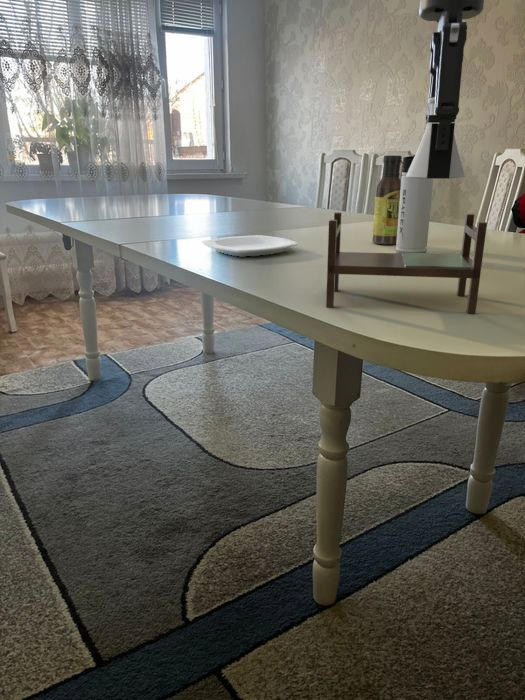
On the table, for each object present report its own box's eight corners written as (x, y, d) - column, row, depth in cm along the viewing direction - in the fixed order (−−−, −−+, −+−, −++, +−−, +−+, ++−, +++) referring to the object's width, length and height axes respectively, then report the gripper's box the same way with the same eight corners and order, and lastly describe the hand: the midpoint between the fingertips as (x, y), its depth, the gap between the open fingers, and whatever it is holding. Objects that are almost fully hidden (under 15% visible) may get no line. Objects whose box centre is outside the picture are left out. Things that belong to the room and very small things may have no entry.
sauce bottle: (387, 246, 125) (393, 155, 119) (366, 243, 130) (371, 155, 123) (404, 243, 129) (411, 154, 122) (384, 240, 134) (389, 155, 127)
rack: (463, 294, 83) (473, 213, 79) (475, 314, 73) (487, 222, 69) (332, 289, 87) (334, 212, 82) (326, 307, 76) (328, 220, 72)
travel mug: (424, 252, 117) (433, 154, 110) (427, 258, 111) (437, 154, 104) (394, 252, 118) (402, 154, 112) (396, 257, 112) (404, 154, 105)
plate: (261, 241, 134) (261, 233, 133) (310, 252, 119) (310, 243, 118) (191, 249, 124) (191, 240, 123) (234, 262, 109) (234, 252, 108)
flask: (396, 178, 75) (402, 99, 72) (438, 177, 78) (446, 100, 74) (429, 180, 69) (437, 94, 66) (474, 178, 72) (484, 95, 68)
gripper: (416, 2, 76) (403, 174, 83) (428, -48, 57) (410, 180, 65) (473, -1, 74) (454, 174, 82) (504, -54, 55) (476, 180, 63)
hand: (434, 176), depth 73 cm, fingers closed on flask, 7 cm apart
